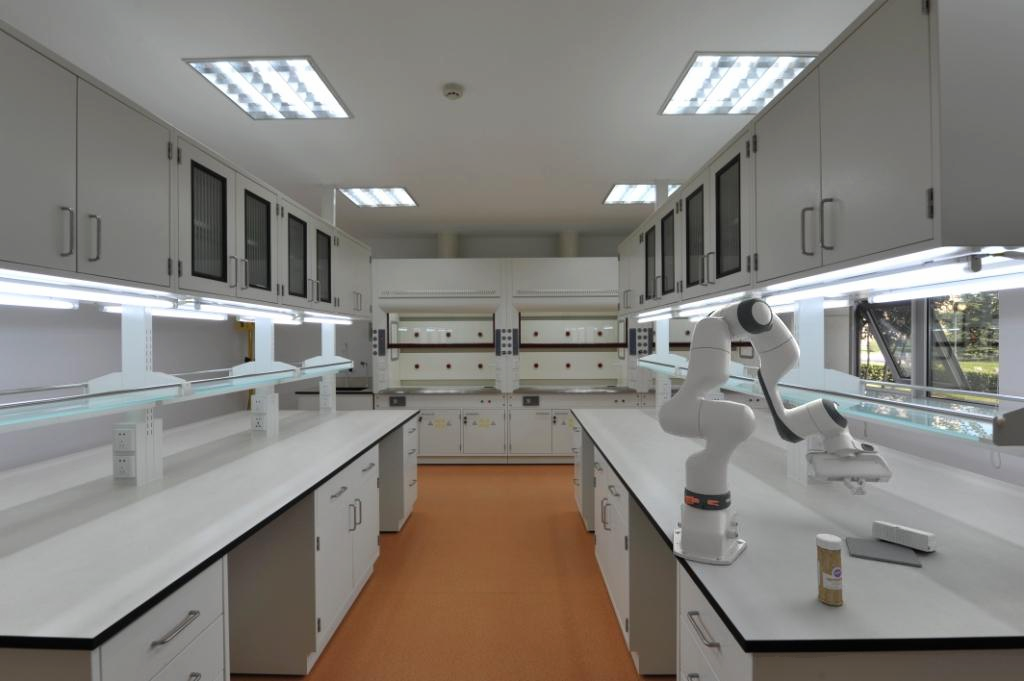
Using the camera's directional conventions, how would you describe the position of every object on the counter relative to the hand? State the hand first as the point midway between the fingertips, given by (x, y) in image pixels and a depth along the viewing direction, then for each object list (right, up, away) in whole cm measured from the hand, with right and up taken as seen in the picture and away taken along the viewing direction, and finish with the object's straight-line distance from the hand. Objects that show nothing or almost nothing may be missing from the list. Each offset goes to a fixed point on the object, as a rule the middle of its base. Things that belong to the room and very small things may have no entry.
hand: (859, 494), depth 136 cm
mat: (-3, -11, -12) cm, 17 cm away
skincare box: (+2, -9, -3) cm, 9 cm away
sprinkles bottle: (-31, -12, -34) cm, 47 cm away
